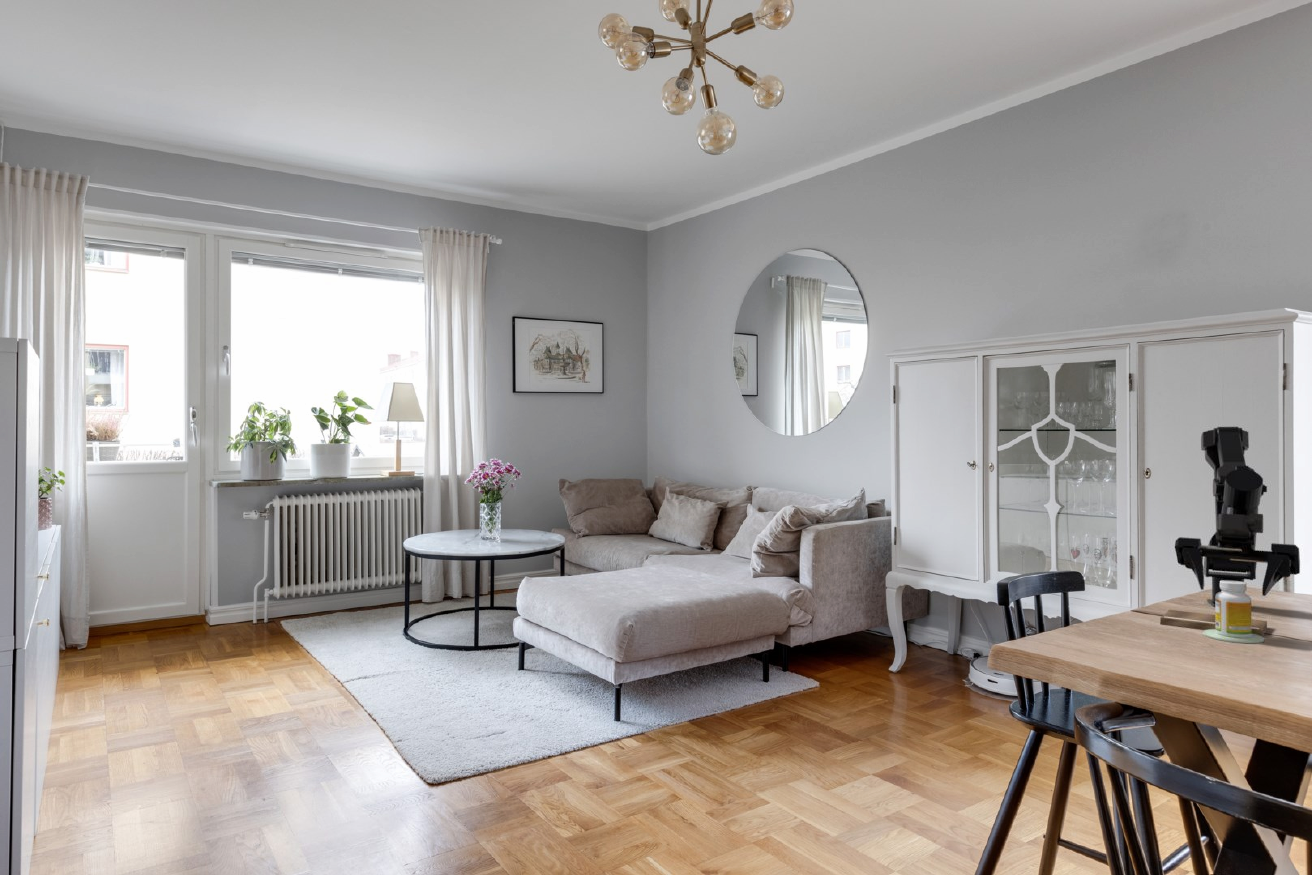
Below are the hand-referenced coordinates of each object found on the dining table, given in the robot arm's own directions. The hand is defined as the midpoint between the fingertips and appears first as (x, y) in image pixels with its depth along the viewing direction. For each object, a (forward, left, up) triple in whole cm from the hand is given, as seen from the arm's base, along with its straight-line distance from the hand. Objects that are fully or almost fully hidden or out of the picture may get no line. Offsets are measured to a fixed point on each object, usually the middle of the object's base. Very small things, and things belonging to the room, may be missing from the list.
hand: (1232, 591), depth 146 cm
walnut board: (-11, -1, -9) cm, 14 cm away
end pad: (-1, 0, -9) cm, 9 cm away
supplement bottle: (-1, 0, -8) cm, 9 cm away
